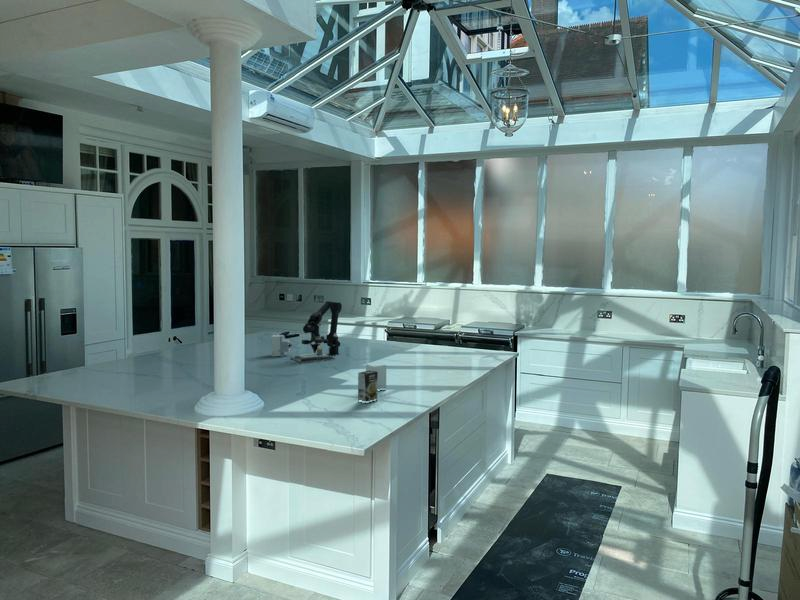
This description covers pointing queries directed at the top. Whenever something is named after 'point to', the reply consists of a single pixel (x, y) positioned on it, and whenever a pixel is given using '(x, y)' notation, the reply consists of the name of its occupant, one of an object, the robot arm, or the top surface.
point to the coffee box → (367, 385)
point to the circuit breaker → (279, 345)
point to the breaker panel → (310, 357)
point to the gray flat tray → (313, 358)
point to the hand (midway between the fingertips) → (314, 353)
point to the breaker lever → (319, 351)
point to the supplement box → (381, 373)
